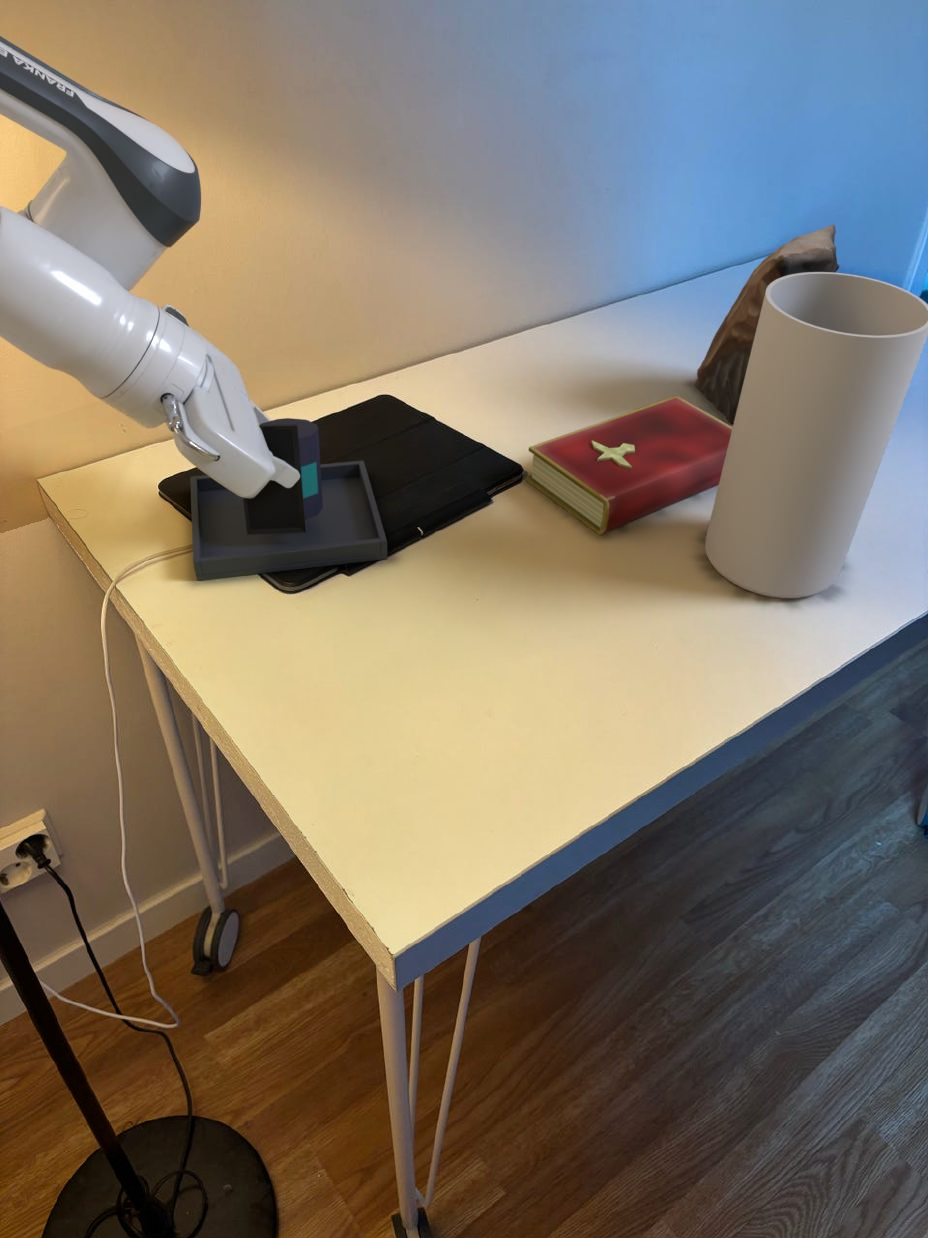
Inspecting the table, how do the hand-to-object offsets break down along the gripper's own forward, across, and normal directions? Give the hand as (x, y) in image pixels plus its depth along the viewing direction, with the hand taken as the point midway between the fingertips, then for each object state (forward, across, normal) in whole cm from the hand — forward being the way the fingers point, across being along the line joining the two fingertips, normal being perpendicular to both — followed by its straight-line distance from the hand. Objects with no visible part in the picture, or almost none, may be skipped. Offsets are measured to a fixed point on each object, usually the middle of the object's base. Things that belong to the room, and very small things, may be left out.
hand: (286, 457), depth 87 cm
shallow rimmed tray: (+5, 0, +6) cm, 7 cm away
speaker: (+3, -1, +4) cm, 6 cm away
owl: (+45, +10, -35) cm, 58 cm away
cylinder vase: (+35, -19, -24) cm, 46 cm away
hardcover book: (+31, -2, -20) cm, 37 cm away
